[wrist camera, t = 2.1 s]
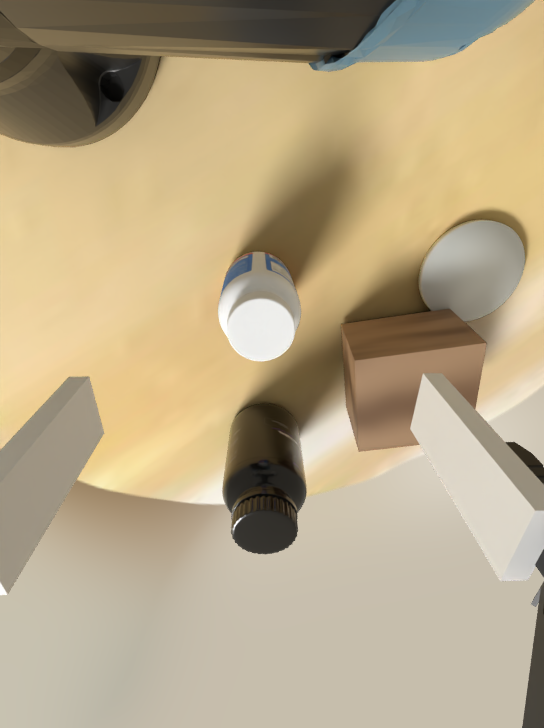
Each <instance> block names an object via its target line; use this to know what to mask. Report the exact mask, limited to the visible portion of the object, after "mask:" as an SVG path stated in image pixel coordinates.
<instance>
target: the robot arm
mask: <svg viewBox="0 0 544 728" xmlns="http://www.w3.org/2000/svg"><path fill="white" fill-rule="evenodd" d="M534 1H535V0H0V134H1V135H4V136H7V137H9V138H12V139H15V140H18V141H22V142H26V143H31V144H38V145H45V146H53V147H77V146H83V145H88V144H91V143H95V142H97V141H100V140H102V139H104V138H106V137H108V136H110V135H112V134H113V133H115V132H116V131H118V130H119V129H120V128H121V127H123V126H124V125H125V124H126V123H127V122H128V121H129V120H130V119H131V118H132V117H133V115H134V114H135V113H136V112H137V110H138V109H139V108H140V106H141V105H142V103H143V101H144V100H145V98H146V96H147V94H148V92H149V90H150V88H151V85H152V83H153V80H154V78H155V74H156V71H157V68H158V63H159V59H160V56H170V57H191V58H213V59H234V60H255V61H276V62H297V63H309V65H310V66H311V67H312V69H313V70H318V71H327V72H331V71H337V70H342V69H344V68H346V67H348V66H350V65H352V64H355V63H356V62H418V61H431V60H436V59H440V58H443V57H447V56H450V55H453V54H456V53H458V52H460V51H462V50H464V49H465V48H467V47H468V46H469V45H471V44H472V43H473V42H474V41H476V40H477V39H478V38H480V37H483V36H485V35H488V34H490V33H492V32H493V31H495V30H496V29H497V28H499V27H501V26H503V25H505V24H507V23H508V22H509V21H511V20H512V19H513V18H515V17H516V16H518V15H519V14H520V13H521V12H523V11H524V10H525V9H526V8H527V7H528V6H529V5H530V4H532V3H533V2H534ZM410 429H411V431H412V433H413V434H414V436H415V438H416V439H417V441H418V443H419V445H420V446H421V448H422V450H423V451H424V453H425V455H426V456H427V458H428V460H429V461H430V463H431V465H432V466H433V468H434V470H435V471H436V473H437V475H438V476H439V478H440V480H441V482H442V483H443V485H444V487H445V488H446V490H447V492H448V493H449V495H450V497H451V498H452V500H453V502H454V503H455V505H456V507H457V509H458V510H459V512H460V514H461V515H462V517H463V519H464V521H465V522H466V524H467V526H468V527H469V529H470V530H471V532H472V534H473V535H474V537H475V539H476V541H477V542H478V544H479V546H480V547H481V549H482V551H483V553H484V554H485V556H486V558H487V559H488V561H489V563H490V564H491V566H492V568H493V569H494V571H495V573H496V574H497V576H498V578H499V580H500V581H516V580H517V581H518V580H528V579H529V577H530V575H531V573H532V572H533V570H534V568H535V566H536V567H537V568H538V570H539V571H540V573H541V574H542V575H543V577H544V467H543V465H542V463H540V461H539V460H538V459H537V458H536V457H535V456H534V455H533V454H532V453H531V452H529V451H527V450H526V449H524V448H523V447H521V446H520V445H518V444H517V443H515V442H504V441H503V440H502V438H501V437H500V436H499V435H498V434H497V433H496V432H495V431H494V430H493V429H492V427H491V426H490V425H489V424H488V423H487V422H486V421H485V420H484V419H483V418H482V417H481V415H480V414H479V413H478V412H477V411H476V410H475V409H474V408H473V407H472V406H471V405H470V403H469V402H468V401H467V400H466V399H465V398H464V397H463V396H462V395H461V394H460V393H459V391H458V390H457V389H456V388H455V387H454V386H453V385H452V384H451V383H450V382H449V380H448V379H447V378H446V377H445V376H444V375H443V374H442V373H423V375H422V380H421V384H420V388H419V393H418V397H417V401H416V406H415V410H414V414H413V419H412V423H411V427H410ZM103 434H104V431H103V427H102V423H101V419H100V416H99V412H98V408H97V404H96V400H95V397H94V393H93V389H92V385H91V382H90V378H89V377H68V379H67V380H66V381H65V382H64V383H63V384H62V385H61V386H60V387H59V388H58V389H57V390H56V391H55V392H54V394H53V395H52V396H51V397H50V398H49V399H48V400H47V401H46V402H45V403H44V404H43V405H42V406H41V407H40V408H39V410H38V411H37V412H36V413H35V414H34V415H33V416H32V417H31V418H30V419H29V420H28V421H27V422H26V423H25V425H24V426H23V427H22V428H21V429H20V430H19V431H18V432H17V433H16V434H15V435H14V436H13V437H12V438H11V440H10V441H9V442H8V443H7V444H6V445H5V446H4V447H3V448H2V449H1V450H0V595H8V593H9V592H10V590H11V588H12V587H13V585H14V583H15V582H16V580H17V578H18V577H19V575H20V573H21V571H22V570H23V568H24V566H25V565H26V563H27V562H28V560H29V558H30V556H31V555H32V553H33V551H34V550H35V548H36V546H37V545H38V543H39V541H40V540H41V538H42V536H43V535H44V533H45V531H46V530H47V528H48V526H49V525H50V523H51V521H52V519H53V518H54V516H55V515H56V513H57V511H58V509H59V508H60V506H61V505H62V503H63V501H64V500H65V498H66V496H67V494H68V493H69V491H70V489H71V488H72V486H73V484H74V483H75V481H76V479H77V478H78V476H79V474H80V473H81V471H82V469H83V468H84V466H85V464H86V463H87V461H88V459H89V458H90V456H91V454H92V453H93V451H94V449H95V448H96V446H97V444H98V443H99V441H100V439H101V438H102V436H103ZM538 602H539V605H538V613H537V620H536V628H535V636H534V643H533V651H532V659H531V666H530V673H529V681H528V689H527V696H526V704H525V711H524V719H523V726H522V728H544V582H543V584H542V586H541V587H540V589H539V591H538V593H537V594H536V596H535V597H534V599H533V601H532V603H531V604H532V605H533V606H535V607H536V606H537V604H538Z"/></svg>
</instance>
